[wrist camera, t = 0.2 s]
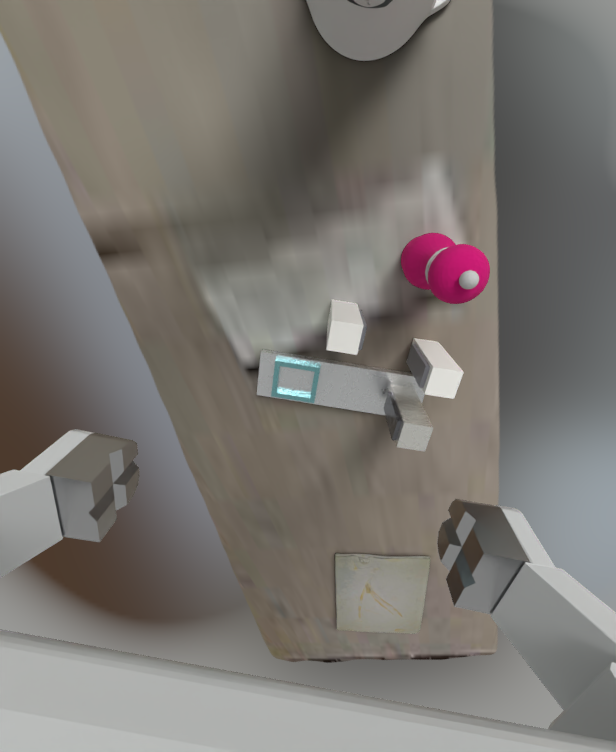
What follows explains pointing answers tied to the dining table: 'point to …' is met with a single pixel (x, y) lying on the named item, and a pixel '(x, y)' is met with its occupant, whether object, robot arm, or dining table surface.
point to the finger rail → (349, 391)
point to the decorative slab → (380, 592)
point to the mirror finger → (434, 368)
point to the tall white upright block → (345, 327)
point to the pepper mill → (445, 267)
